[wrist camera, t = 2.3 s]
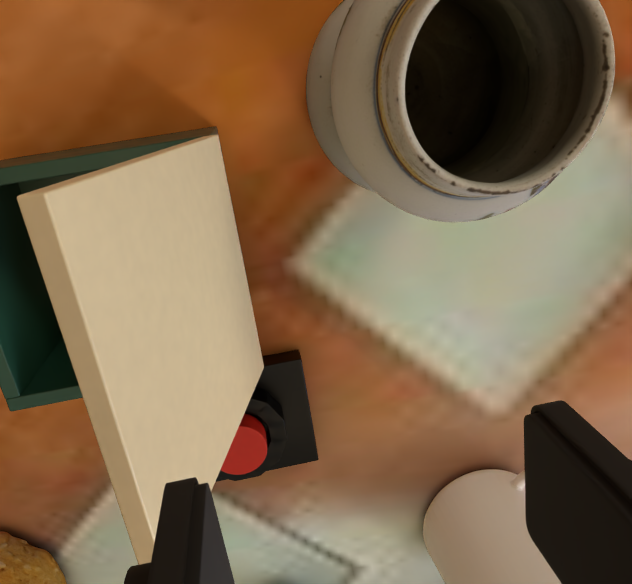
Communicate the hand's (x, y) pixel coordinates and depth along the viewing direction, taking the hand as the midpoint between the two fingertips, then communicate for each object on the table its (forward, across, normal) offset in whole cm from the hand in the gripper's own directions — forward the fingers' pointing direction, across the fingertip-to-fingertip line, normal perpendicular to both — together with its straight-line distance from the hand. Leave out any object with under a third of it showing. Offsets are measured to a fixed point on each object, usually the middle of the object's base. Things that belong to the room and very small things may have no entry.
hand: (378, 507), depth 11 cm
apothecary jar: (+30, -9, -7) cm, 32 cm away
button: (+26, +5, +15) cm, 31 cm away
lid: (+12, +5, 0) cm, 13 cm away
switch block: (+30, +5, +15) cm, 34 cm away
